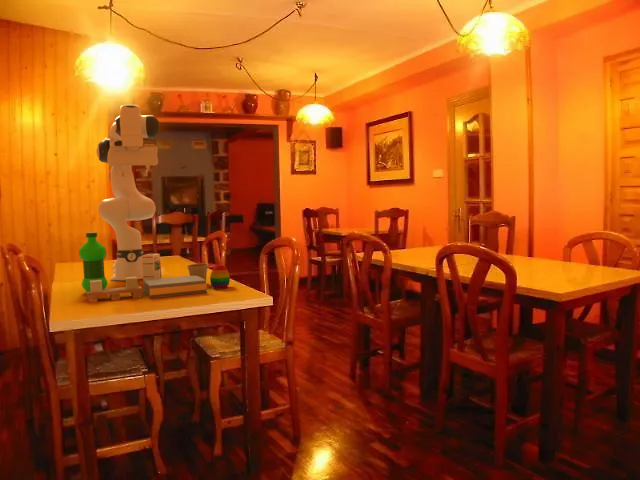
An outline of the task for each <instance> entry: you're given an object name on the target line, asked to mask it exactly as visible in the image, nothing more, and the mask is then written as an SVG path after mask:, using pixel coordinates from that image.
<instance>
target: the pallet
mask: <svg viewBox="0 0 640 480" xmlns="http://www.w3.org/2000/svg"><path fill="white" fill-rule="evenodd" d="M142 292H143V288H142V286H141V285H138V288H133V289H127V288H126V286H125V287H113V288H105V289H102V292H92V293H91V291H86V290H85V294H86V296H87V301H88V303H97V302H98V296H105V295H106V296H107V295H109V298H110V300H111V301H116V300H121V296H120V294H125V293H127V294H128V293H130V294H131V297H132V298H134V299H135V298H137V297H138V298H142Z"/></svg>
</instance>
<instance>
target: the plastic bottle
mask: <svg viewBox="0 0 640 480" xmlns="http://www.w3.org/2000/svg"><path fill="white" fill-rule="evenodd" d="M97 237H98V232H95V231H93V232H85V238H87V240H86V242H85V243H84V244H83V245H82V246H80V247H79V249H78V256H79V258H80V259H81V260H82V269H83V278H82V282H81V287H82V289H83V290H85V292H86V291H91V290H90V281H92V280H101V281H102V289H107V286H108V279H107V278H106V276H105V263H104V260H105V258H106V257H107V248H106V247H105V246H104V245H103V244H102V243H101V242H99V241H98V240H97Z"/></svg>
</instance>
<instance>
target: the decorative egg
mask: <svg viewBox="0 0 640 480" xmlns="http://www.w3.org/2000/svg"><path fill="white" fill-rule="evenodd" d="M229 272H230V271H228V269H227V267H226V266H224V264H222V263H221V264H219V263H218V264H216V265H215V266H214V267H213V268H212V270H211V272H210V277H209V278H210V284H211V286H212V288H213V289H216V290H217V289H218V290H219V289H221V290H222V289H226V288H228V287H229V285H230V281H231V279H230V278H231V277H230V273H229Z"/></svg>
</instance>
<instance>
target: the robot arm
mask: <svg viewBox="0 0 640 480" xmlns="http://www.w3.org/2000/svg"><path fill="white" fill-rule="evenodd" d="M119 107H120V111H119V116H117V117H116V118H115V119H114V122H113V123H112V125H111V126H110V128H109V137H110V138H107V137H105V138H104V140H101V141H100V142H98V144H97V146H96V156H97V158H98V161H99V162H101V163H106V164H107V165H109V166H111V170H110V184H111V191H112V194H113V196H114V197H109V198H106V199H102V200H101V201H100V203H99V204H98V208H97V211H98V214H99V217H100V218H101V219H103V220H104V221H105V222H107V223H108V224H109V225H110V226H111V227H112V229H113V230H114V234H115V237H116V247H117V250H116V260H115V261H114V264H113V266H112V271H113V275H112V276H111V277H110V281H126V277H137V279H138V280H143V270H142V255H144V249H143V245H142V234H141V232H140V230H138V229H137V228H135V227H132V226H129V225H128V223H127V222H128V221H142V220H148V219H151V218H153V217H154V216H155V214H156V210H157V208H156V204H155V202H154V201H153V199H151V198H149V197H147V196H145V195H143V194H142V193H141V191H139V190H138V189H137V186H136V181H135V177H134V173H133V171H132V168H133V167H137V166H145V168H146V170H145V171H143V173H142V175H143V177H148V172H149V171H150V169H151V166H157V165H158V164H159V159H158V152H159V149H158V146H157V145H156V144H154V143H144V139H152V140H153V139H155V138H156V137H158V135H159V134H160V130H161V127H160V121H159V119H158V118H157V117H156V116H154V115H152V114H151V115H149V114H148V115H142V113H141V107H140V105H139V106H138V105H136V104H122V105H120V106H119ZM132 166H133V167H132Z"/></svg>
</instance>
